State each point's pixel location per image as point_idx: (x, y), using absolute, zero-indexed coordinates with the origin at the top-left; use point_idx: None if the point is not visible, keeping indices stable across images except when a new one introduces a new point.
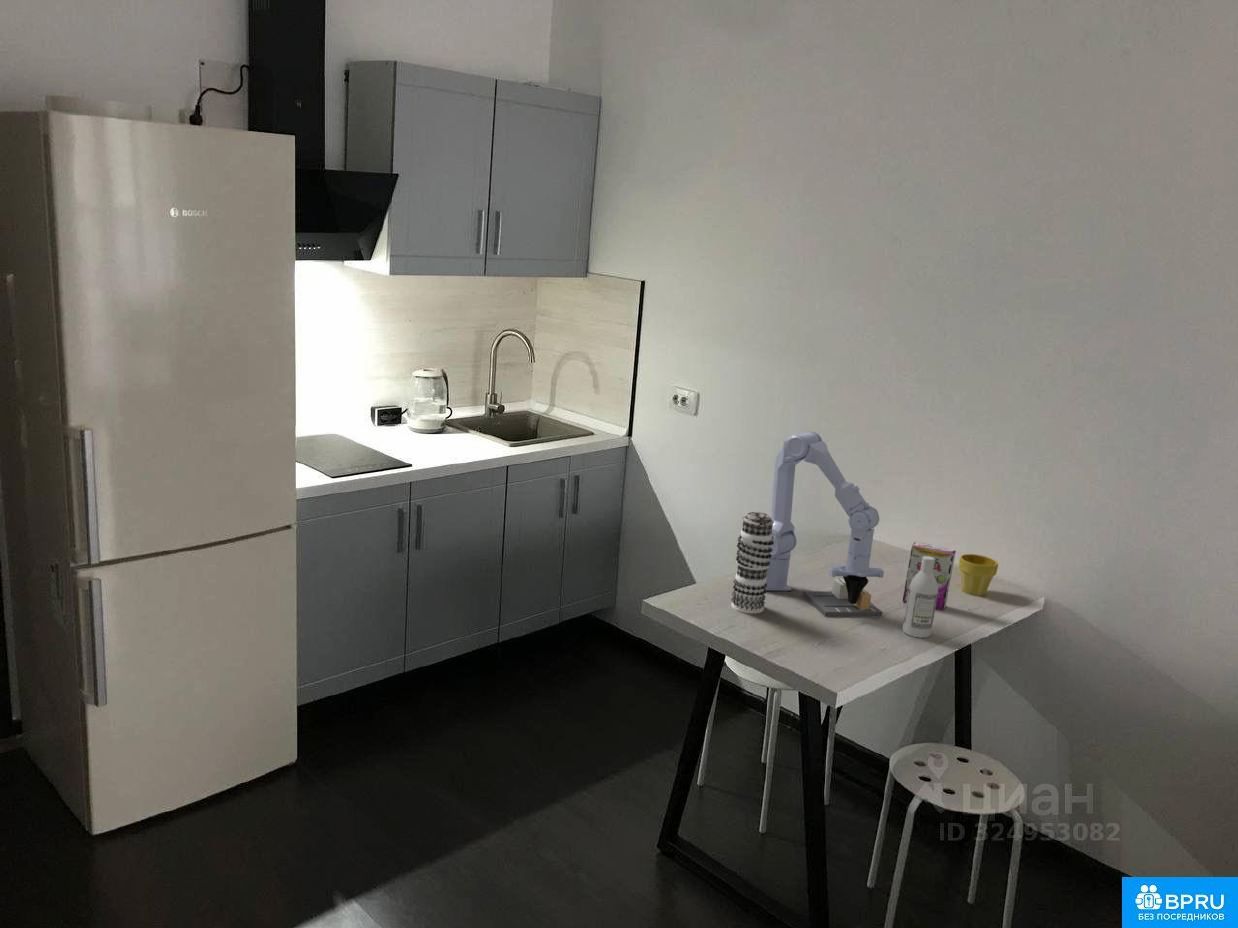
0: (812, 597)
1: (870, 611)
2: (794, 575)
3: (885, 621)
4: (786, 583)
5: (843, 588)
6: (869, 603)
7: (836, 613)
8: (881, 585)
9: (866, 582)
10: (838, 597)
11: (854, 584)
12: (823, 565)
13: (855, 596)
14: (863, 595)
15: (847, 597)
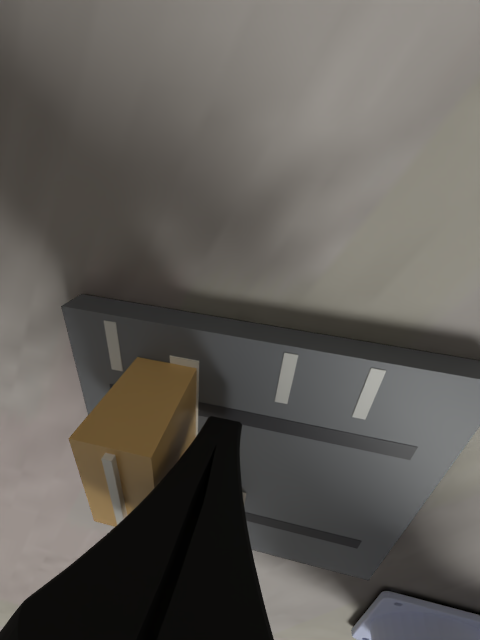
0: (383, 536)
1: (140, 330)
2: None
3: (81, 214)
4: (393, 632)
5: None
6: (118, 384)
7: (405, 360)
8: (12, 518)
9: (28, 632)
10: (244, 501)
11: (224, 633)
12: None
13: (208, 464)
14: (143, 450)
15: None
